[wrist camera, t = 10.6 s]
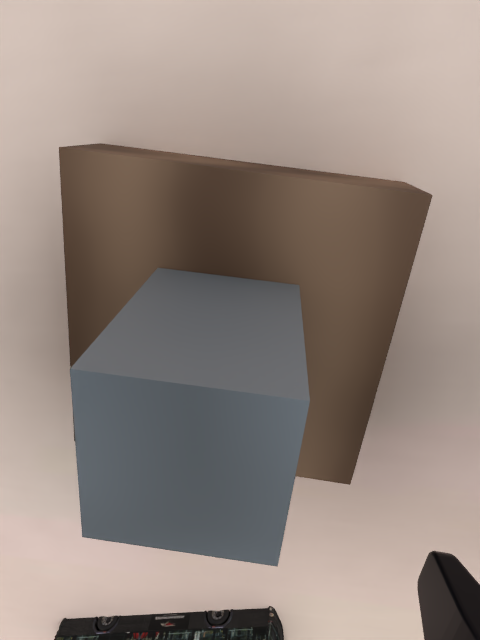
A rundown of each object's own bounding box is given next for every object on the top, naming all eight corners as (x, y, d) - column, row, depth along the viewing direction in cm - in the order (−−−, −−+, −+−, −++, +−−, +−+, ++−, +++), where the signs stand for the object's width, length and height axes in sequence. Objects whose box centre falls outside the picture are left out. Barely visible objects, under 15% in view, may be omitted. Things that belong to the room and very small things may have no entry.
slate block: (299, 285, 15) (309, 400, 9) (279, 403, 17) (277, 566, 11) (157, 267, 16) (70, 368, 9) (155, 387, 18) (82, 537, 11)
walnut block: (401, 181, 17) (432, 195, 14) (339, 426, 22) (350, 484, 19) (105, 143, 18) (58, 146, 14) (108, 390, 23) (74, 441, 19)
